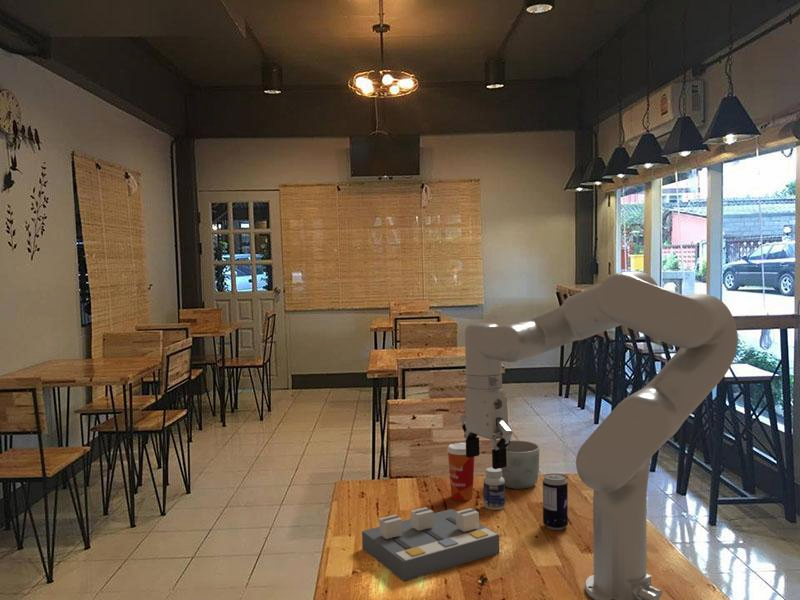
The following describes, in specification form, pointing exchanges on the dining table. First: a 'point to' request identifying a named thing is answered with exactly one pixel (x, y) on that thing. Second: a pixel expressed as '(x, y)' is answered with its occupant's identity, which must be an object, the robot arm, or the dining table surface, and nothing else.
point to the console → (430, 546)
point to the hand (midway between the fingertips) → (485, 461)
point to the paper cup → (460, 472)
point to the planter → (521, 464)
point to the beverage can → (555, 501)
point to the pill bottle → (494, 489)
